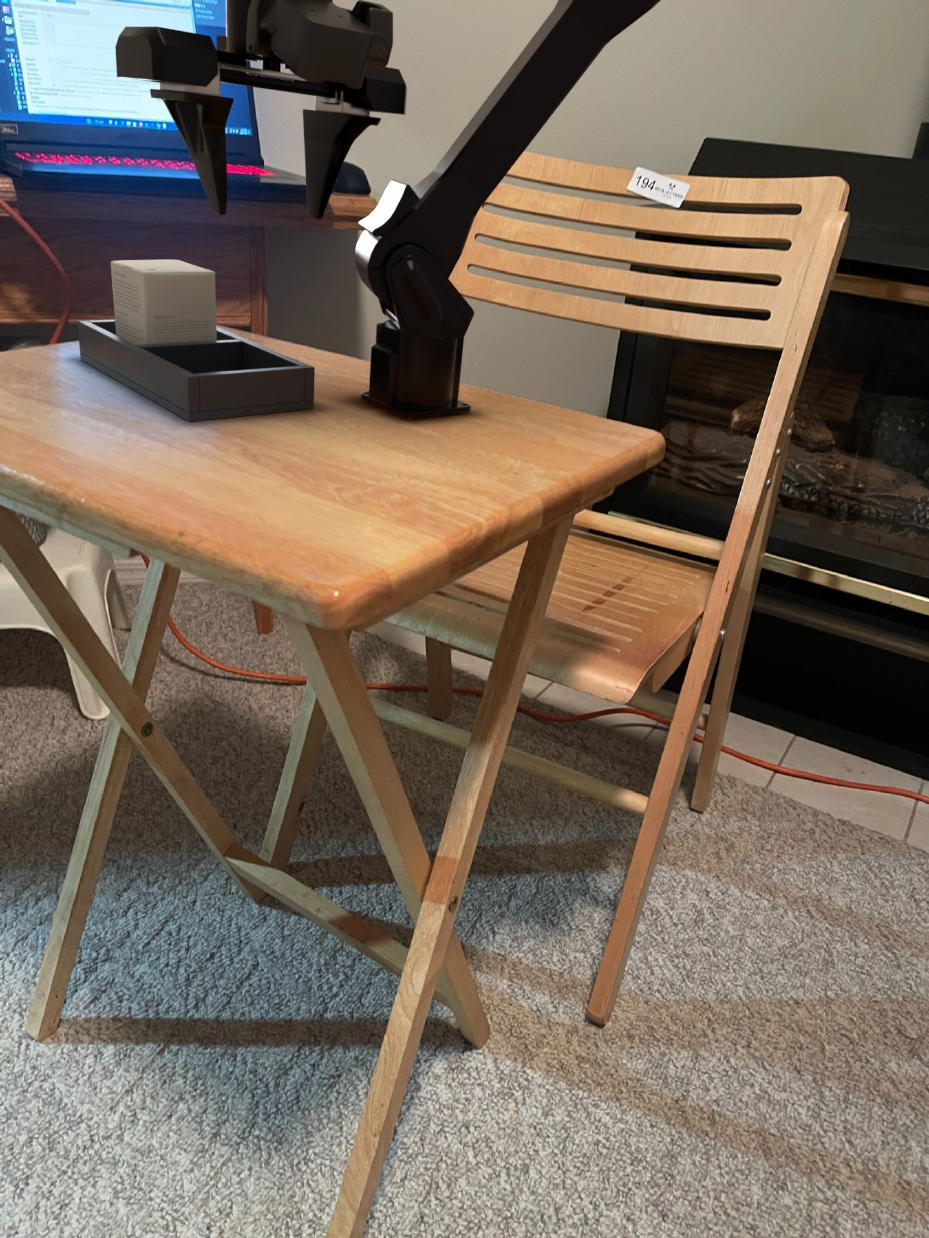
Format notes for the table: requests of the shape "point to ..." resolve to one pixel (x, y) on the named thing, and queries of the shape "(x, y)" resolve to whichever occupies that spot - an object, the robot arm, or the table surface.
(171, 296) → the product box
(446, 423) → the table surface
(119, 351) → the divided tray
